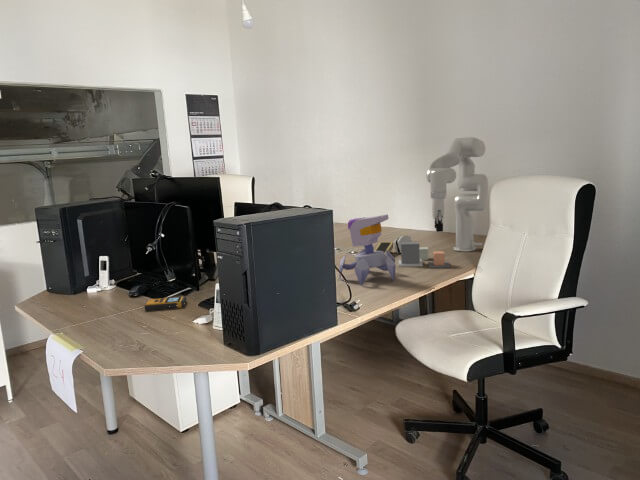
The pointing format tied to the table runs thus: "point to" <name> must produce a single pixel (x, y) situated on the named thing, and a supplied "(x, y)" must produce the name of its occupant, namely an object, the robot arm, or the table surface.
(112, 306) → the table surface
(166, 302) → the electronic device
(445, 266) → the mat
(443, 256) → the terracotta block
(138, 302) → the table surface
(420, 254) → the grey block
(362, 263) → the robotic device
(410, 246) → the mounted unit
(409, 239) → the white curved block
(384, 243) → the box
